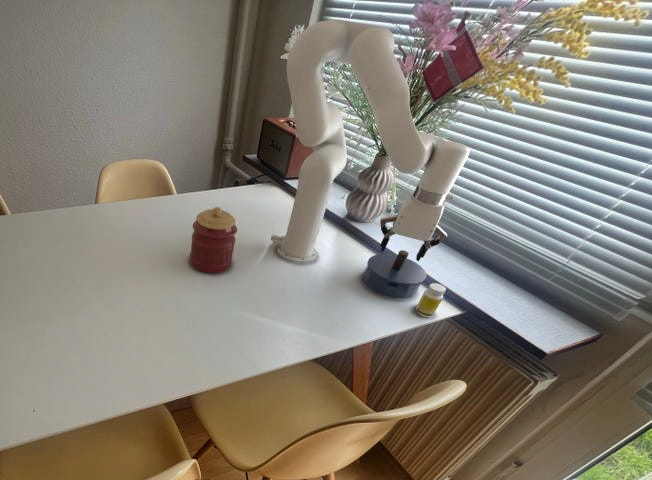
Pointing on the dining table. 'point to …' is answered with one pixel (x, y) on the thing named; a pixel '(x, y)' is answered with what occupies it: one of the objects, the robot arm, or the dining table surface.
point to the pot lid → (396, 268)
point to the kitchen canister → (213, 241)
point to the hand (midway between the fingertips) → (399, 254)
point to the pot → (388, 286)
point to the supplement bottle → (430, 300)
